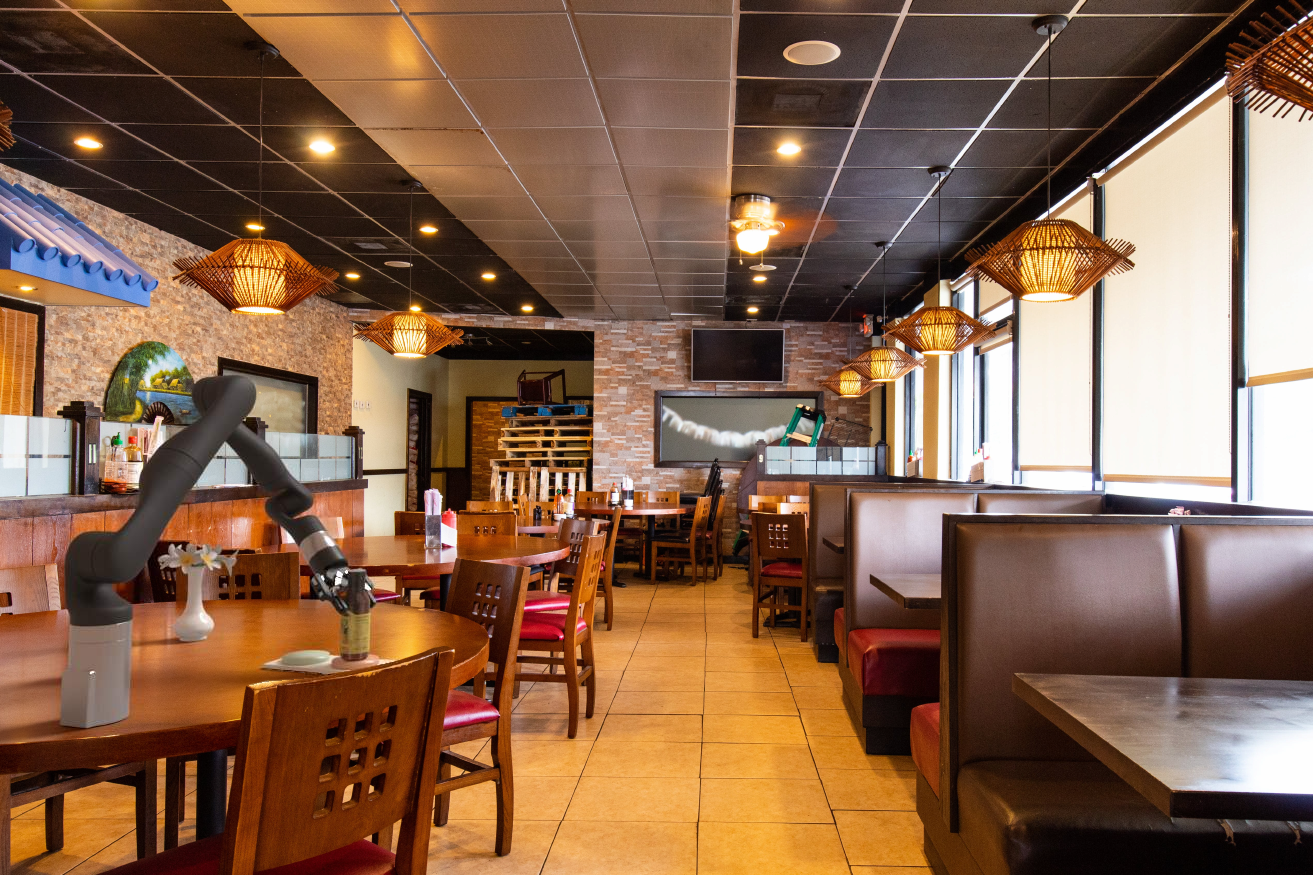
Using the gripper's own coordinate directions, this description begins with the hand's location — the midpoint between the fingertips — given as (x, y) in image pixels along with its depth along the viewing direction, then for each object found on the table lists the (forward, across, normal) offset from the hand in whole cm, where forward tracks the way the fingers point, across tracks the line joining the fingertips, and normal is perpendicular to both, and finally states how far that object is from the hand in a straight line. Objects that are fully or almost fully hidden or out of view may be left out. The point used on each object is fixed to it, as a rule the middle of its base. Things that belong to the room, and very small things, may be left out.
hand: (359, 609), depth 181 cm
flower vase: (-34, +4, +53) cm, 63 cm away
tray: (+4, -1, +14) cm, 15 cm away
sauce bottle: (+7, 0, +9) cm, 11 cm away
